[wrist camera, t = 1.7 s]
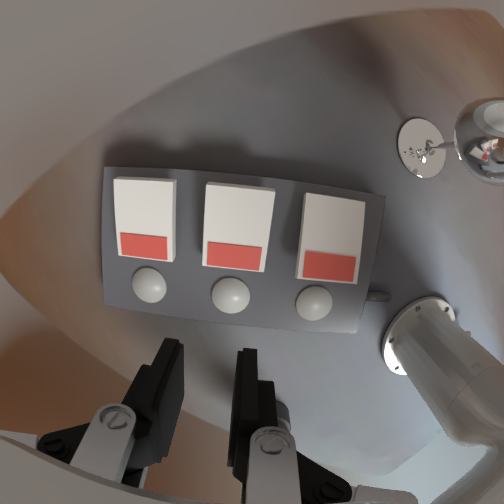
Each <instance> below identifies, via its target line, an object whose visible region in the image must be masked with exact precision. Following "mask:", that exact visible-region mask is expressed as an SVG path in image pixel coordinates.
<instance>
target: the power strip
mask: <svg viewBox="0 0 504 504" xmlns="http://www.w3.org/2000/svg"><path fill="white" fill-rule="evenodd" d="M119 176H121V177H146V178H164V179H177V182H176V232H175V242H176V257H175V259H174V260H173V262H167V261H159V260H151V259H143V258H135V257H127V256H119V255H118V246H117V235H116V222H115V206H114V179H115V178H117V177H119ZM208 182H218V183H228V184H238V185H248V186H257V187H266V188H274V189H275V199H274V206H273V213H272V220H271V227H270V234H269V241H268V248H267V255H266V261H265V268H264V272H255V271H246V270H237V269H228V268H219V267H210V266H202V258H203V233H204V213H205V196H206V184H207V183H208ZM305 193H312V194H319V195H325V196H332V197H338V198H344V199H350V200H356V201H362V202H365V214H364V226H363V237H362V246H361V255H360V264H359V272H358V279H357V284H349V283H337V282H326V281H315V280H305V279H297V278H295V273H296V265H297V256H298V247H299V238H300V229H301V219H302V209H303V198H304V194H305ZM385 199H386V196H382V195H377V194H371V193H366V192H361V191H355V190H350V189H344V188H338V187H332V186H326V185H320V184H313V183H306V182H299V181H292V180H285V179H277V178H269V177H260V176H252V175H242V174H232V173H222V172H210V171H197V170H182V169H165V168H141V167H104V177H103V193H102V273H103V290H104V302H105V305H106V306H112V307H117V308H122V309H128V310H133V311H139V312H145V313H151V314H157V315H163V316H170V317H177V318H184V319H191V320H198V321H206V322H214V323H222V324H231V325H241V326H251V327H261V328H273V329H285V330H299V331H316V332H337V333H357V329H358V326H359V322H360V319H361V315H362V311H363V308H364V304H365V301H379V302H388V301H390V300H391V294H390V293H388V292H376V291H368V288H369V284H370V279H371V275H372V270H373V266H374V261H375V256H376V251H377V246H378V241H379V236H380V230H381V224H382V218H383V212H384V206H385Z"/></svg>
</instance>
